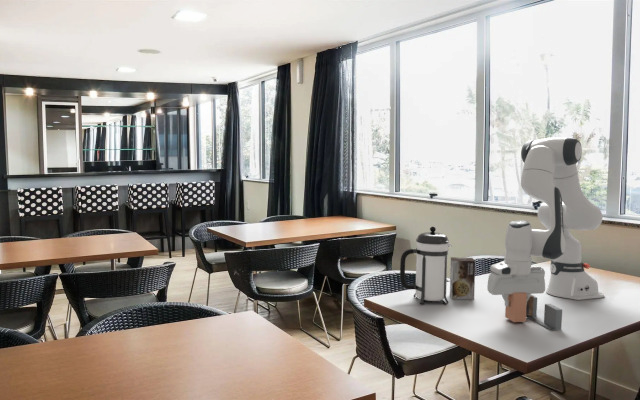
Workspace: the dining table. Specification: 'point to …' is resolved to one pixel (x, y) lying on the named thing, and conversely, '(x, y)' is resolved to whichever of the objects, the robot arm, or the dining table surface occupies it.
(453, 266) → the cookie box
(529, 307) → the sliding door
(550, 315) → the door wall
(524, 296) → the doorstop block
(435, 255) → the coffee press
